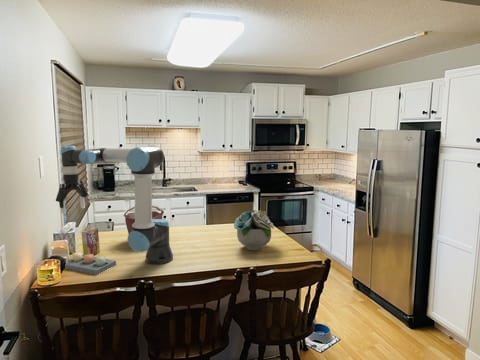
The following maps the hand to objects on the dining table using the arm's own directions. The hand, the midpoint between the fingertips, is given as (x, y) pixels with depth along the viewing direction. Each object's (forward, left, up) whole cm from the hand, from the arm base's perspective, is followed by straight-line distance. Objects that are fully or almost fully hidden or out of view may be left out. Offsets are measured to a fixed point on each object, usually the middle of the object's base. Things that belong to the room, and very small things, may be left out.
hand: (73, 210), depth 201 cm
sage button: (-26, +9, -25) cm, 37 cm away
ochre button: (-10, +9, -25) cm, 28 cm away
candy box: (-6, -5, -27) cm, 29 cm away
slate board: (-18, +9, -27) cm, 34 cm away
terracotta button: (-18, +9, -25) cm, 32 cm away
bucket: (-22, -34, -28) cm, 49 cm away
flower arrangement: (-91, -51, -27) cm, 108 cm away
